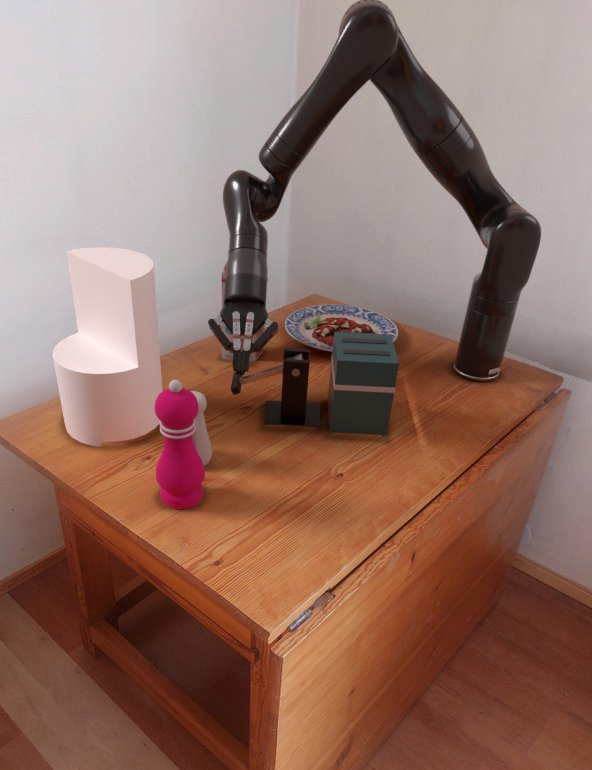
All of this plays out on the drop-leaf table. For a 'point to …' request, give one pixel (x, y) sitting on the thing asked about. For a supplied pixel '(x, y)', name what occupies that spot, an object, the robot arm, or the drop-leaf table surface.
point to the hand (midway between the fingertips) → (240, 373)
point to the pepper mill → (178, 448)
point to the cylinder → (110, 347)
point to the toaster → (362, 383)
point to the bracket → (294, 395)
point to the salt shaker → (201, 431)
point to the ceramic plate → (335, 324)
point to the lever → (257, 376)
